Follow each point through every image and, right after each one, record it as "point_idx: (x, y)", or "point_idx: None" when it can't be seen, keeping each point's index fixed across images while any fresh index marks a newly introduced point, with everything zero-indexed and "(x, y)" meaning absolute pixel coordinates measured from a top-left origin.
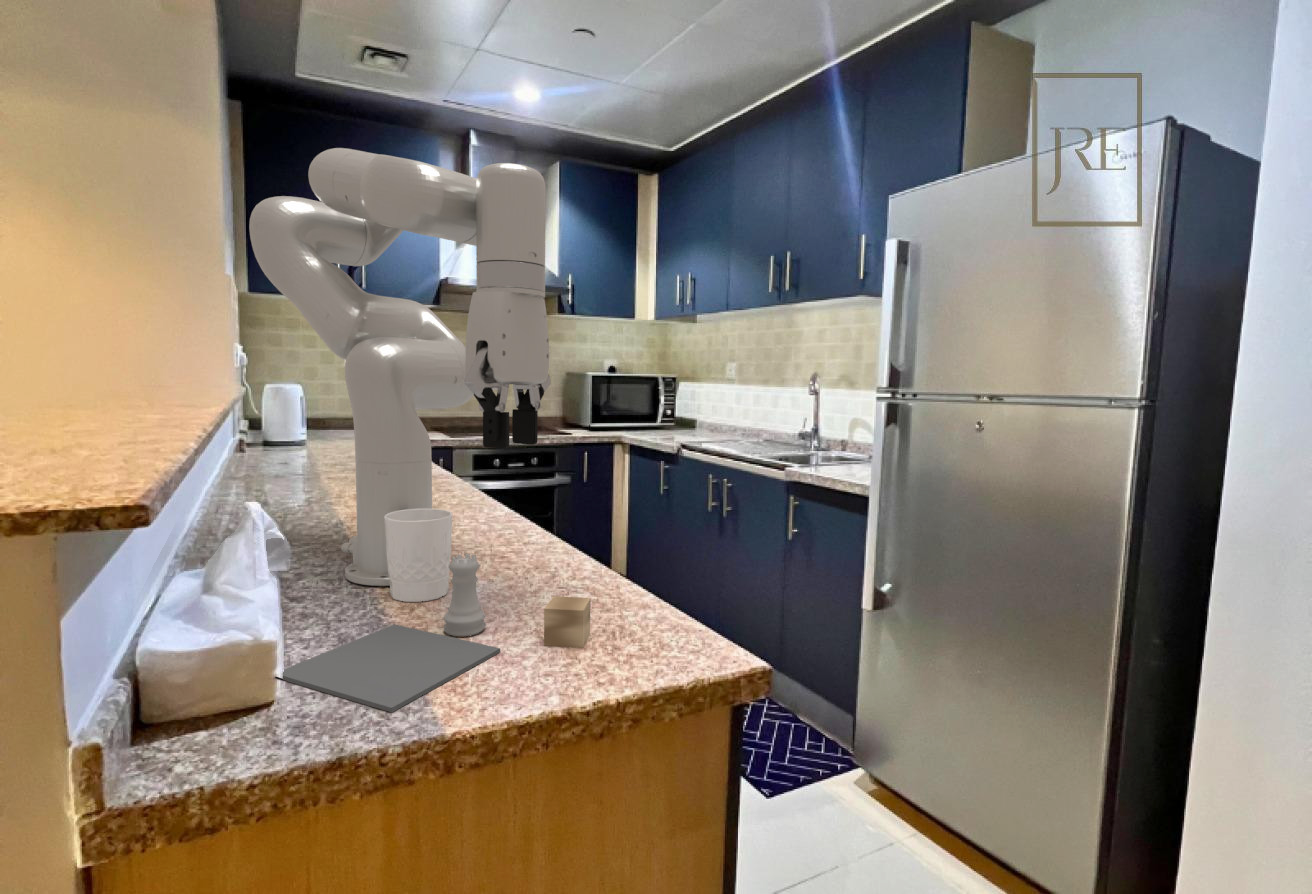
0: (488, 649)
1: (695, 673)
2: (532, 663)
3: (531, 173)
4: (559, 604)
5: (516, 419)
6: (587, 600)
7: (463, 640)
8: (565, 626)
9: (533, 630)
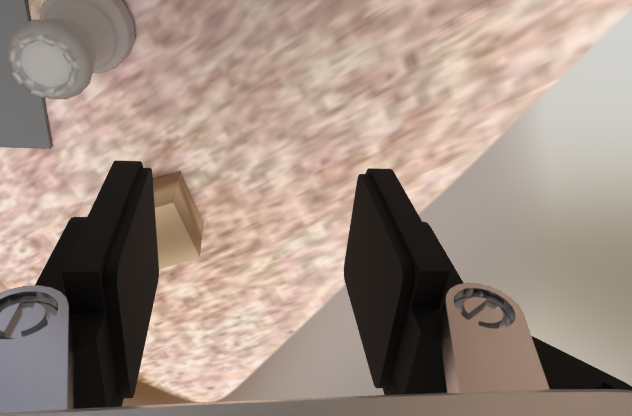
0: (33, 134)
1: (154, 369)
2: (52, 208)
3: None
4: None
5: (384, 263)
6: (185, 259)
7: None
8: None
9: (167, 140)
